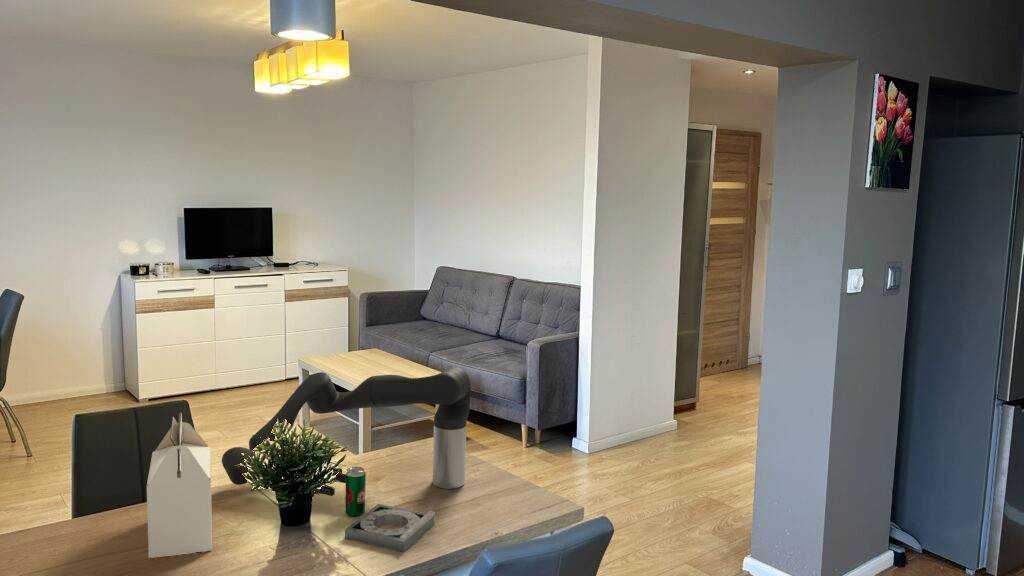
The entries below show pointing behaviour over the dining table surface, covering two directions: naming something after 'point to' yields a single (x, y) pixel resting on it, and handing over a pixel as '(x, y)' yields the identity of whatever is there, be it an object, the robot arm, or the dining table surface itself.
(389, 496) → the dining table surface
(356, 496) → the soda can
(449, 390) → the robot arm
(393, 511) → the jig
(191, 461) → the gable box
